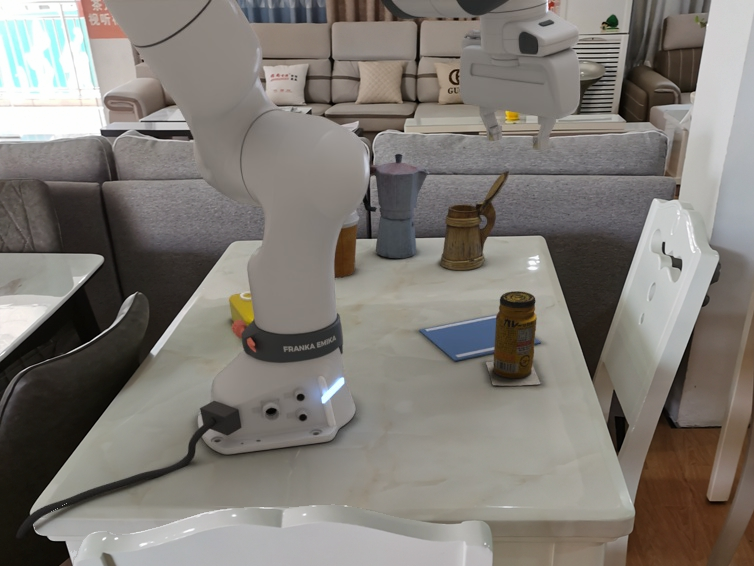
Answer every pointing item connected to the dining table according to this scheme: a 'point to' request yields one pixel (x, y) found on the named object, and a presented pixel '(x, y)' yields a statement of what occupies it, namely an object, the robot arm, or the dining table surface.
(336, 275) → the disposable coffee cup
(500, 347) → the condiment
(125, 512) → the dining table surface
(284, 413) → the robot arm
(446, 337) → the napkin
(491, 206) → the wooden mug
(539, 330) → the dining table surface
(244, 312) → the element tile
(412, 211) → the moka pot
